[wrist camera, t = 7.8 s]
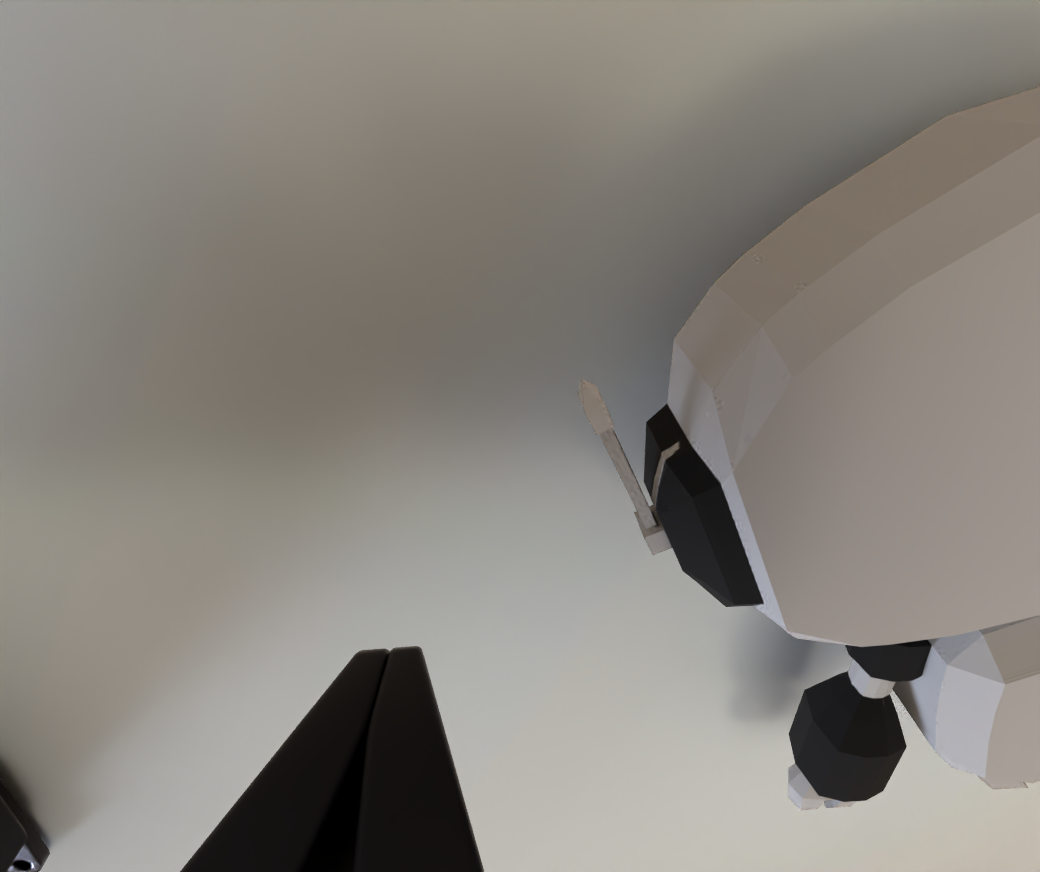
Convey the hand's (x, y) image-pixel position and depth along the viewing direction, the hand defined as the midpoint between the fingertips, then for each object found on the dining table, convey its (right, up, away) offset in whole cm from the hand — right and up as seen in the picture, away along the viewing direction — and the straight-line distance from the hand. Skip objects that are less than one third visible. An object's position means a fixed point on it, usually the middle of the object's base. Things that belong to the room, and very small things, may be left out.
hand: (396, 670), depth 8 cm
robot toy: (+11, +3, +6) cm, 12 cm away
